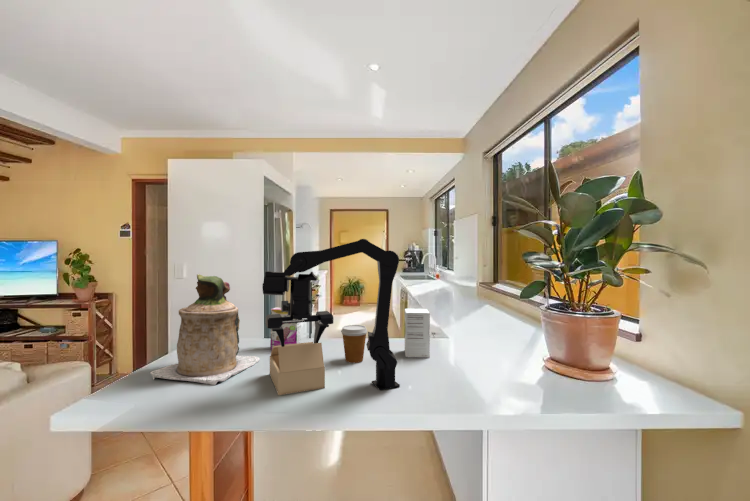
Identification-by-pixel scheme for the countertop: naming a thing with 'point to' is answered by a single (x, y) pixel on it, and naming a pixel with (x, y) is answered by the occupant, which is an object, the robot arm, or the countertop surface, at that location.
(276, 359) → the carton
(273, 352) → the far flap
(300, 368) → the near flap
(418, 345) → the supplement box
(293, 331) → the candy bar box
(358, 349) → the disposable coffee cup
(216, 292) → the cookie jar
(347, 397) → the countertop surface
